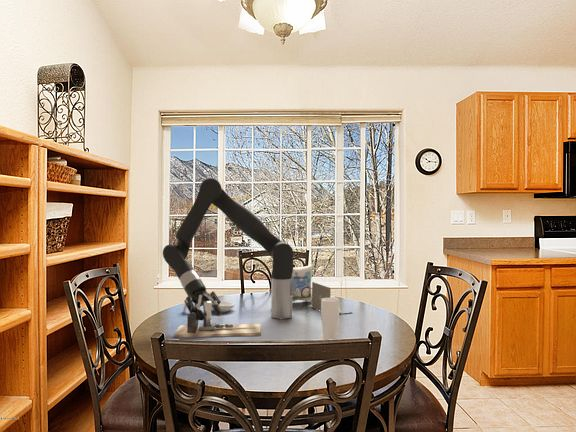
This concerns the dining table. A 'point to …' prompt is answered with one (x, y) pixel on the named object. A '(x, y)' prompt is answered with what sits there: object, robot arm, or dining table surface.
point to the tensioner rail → (236, 330)
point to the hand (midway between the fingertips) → (211, 316)
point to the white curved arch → (223, 306)
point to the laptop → (319, 295)
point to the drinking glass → (330, 317)
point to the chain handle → (210, 318)
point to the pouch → (302, 283)
